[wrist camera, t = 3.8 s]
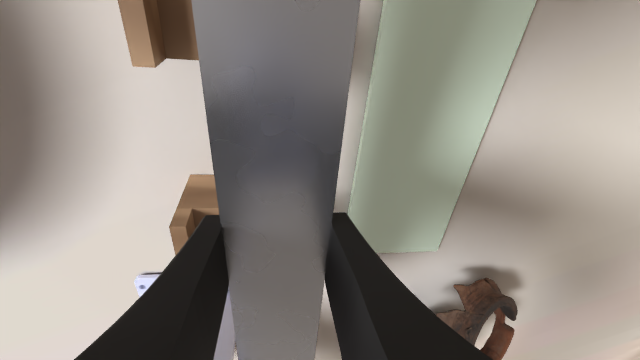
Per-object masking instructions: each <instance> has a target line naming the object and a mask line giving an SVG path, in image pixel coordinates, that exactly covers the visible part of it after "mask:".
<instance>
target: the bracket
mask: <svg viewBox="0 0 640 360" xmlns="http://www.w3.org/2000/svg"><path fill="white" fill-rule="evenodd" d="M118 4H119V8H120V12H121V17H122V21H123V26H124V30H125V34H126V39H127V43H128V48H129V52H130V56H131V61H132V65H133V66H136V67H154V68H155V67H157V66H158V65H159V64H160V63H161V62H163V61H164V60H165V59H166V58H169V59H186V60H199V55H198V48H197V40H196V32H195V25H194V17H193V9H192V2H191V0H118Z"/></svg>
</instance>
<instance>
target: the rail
mask: <svg viewBox="0 0 640 360" xmlns="http://www.w3.org/2000/svg"><path fill="white" fill-rule="evenodd" d="M191 2H192V9H193V17H194V25H195V32H196V40H197V48H198V55H199V63H200V71H201V78H202V86H203V94H204V101H205V109H206V116H207V124H208V132H209V139H210V147H211V155H212V162H213V170H214V178H215V185H216V193H217V201H218V208H219V216H220V224H221V227H222V232H223V240H224V248H225V255H226V263H227V271H228V279H229V292H230V300H231V308H232V315H233V323H234V331H235V338H236V346H237V354H238V360H314V358H315V350H316V342H317V334H318V326H319V319H320V311H321V303H322V295H323V287H324V279H325V271H326V263H327V255H328V247H329V239H330V231H331V224H332V217H333V209H334V201H335V193H336V186H337V178H338V170H339V162H340V154H341V146H342V139H343V131H344V123H345V115H346V107H347V100H348V92H349V84H350V76H351V68H352V60H353V53H354V45H355V37H356V29H357V21H358V13H359V6H360V0H191Z"/></svg>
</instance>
